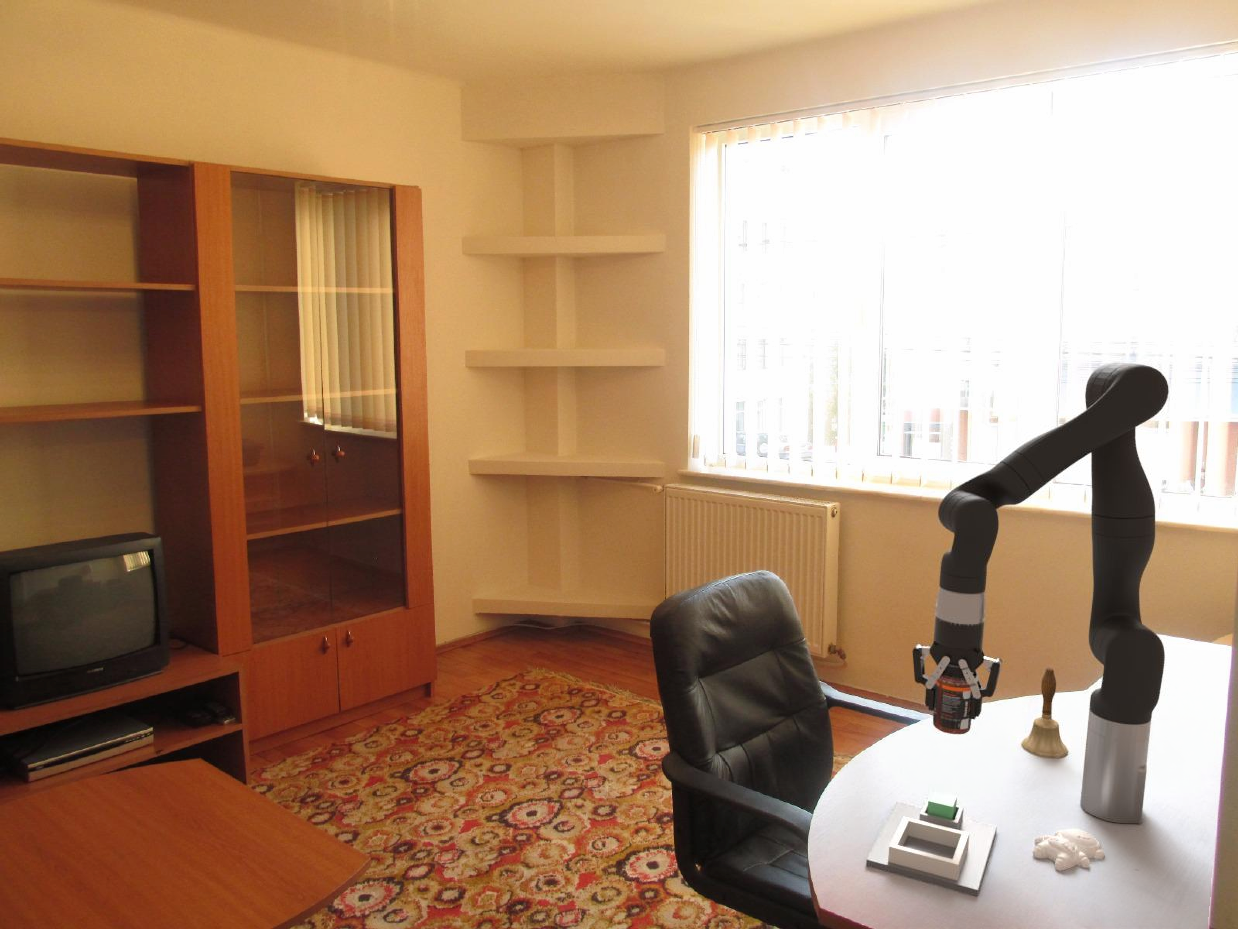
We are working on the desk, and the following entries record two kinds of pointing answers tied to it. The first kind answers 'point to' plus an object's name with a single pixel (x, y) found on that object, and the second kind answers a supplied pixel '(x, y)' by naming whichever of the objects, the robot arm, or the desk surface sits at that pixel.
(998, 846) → the desk surface
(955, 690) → the supplement bottle
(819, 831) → the desk surface
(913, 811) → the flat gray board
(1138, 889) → the desk surface
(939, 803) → the button
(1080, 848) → the astronaut figurine
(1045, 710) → the hand bell
